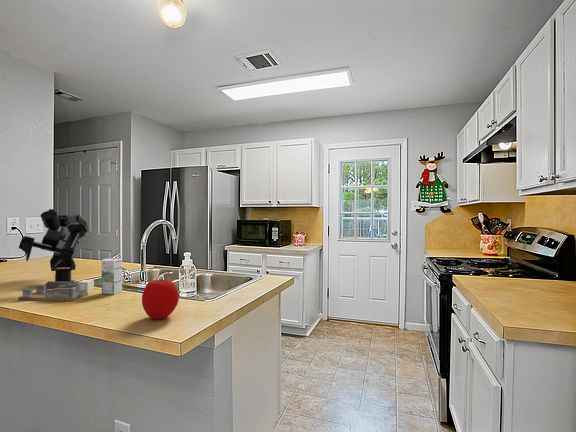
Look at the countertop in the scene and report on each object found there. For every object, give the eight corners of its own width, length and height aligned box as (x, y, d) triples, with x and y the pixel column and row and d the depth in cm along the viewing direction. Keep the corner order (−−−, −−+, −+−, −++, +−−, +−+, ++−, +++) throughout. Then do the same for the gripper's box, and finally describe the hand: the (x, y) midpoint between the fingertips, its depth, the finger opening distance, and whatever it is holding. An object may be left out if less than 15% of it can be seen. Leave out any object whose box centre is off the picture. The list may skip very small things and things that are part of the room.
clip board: (37, 294, 132) (37, 283, 132) (87, 294, 132) (87, 284, 131) (18, 300, 123) (18, 288, 123) (72, 300, 123) (72, 289, 122)
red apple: (134, 318, 103) (134, 279, 103) (164, 310, 112) (164, 274, 112) (155, 326, 97) (155, 283, 97) (185, 316, 106) (185, 277, 106)
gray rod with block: (44, 292, 136) (44, 281, 136) (52, 289, 140) (52, 279, 140) (87, 292, 135) (87, 282, 135) (94, 290, 140) (93, 280, 140)
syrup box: (122, 291, 138) (122, 257, 137) (113, 295, 132) (113, 259, 132) (110, 291, 138) (110, 257, 138) (100, 294, 132) (100, 259, 132)
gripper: (31, 216, 132) (16, 244, 121) (82, 230, 142) (72, 257, 131) (25, 234, 137) (10, 262, 126) (75, 246, 147) (65, 273, 136)
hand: (40, 263), depth 130 cm, fingers open, 9 cm apart
